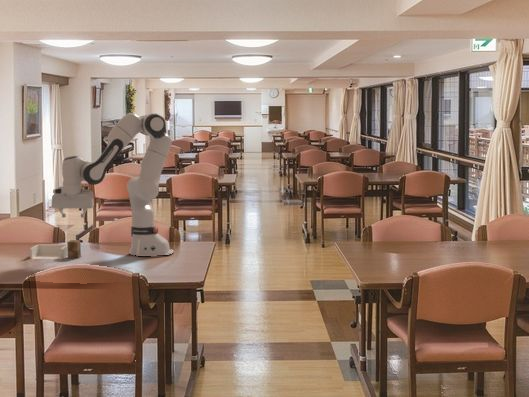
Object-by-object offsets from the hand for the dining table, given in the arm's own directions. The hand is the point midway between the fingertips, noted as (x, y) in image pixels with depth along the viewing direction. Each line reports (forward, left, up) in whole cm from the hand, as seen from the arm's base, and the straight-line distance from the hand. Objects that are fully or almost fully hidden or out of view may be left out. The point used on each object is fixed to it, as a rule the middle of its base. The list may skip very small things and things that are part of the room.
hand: (73, 217), depth 361 cm
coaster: (0, 0, -20) cm, 20 cm away
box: (+13, -1, -20) cm, 24 cm away
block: (0, 0, -20) cm, 20 cm away
